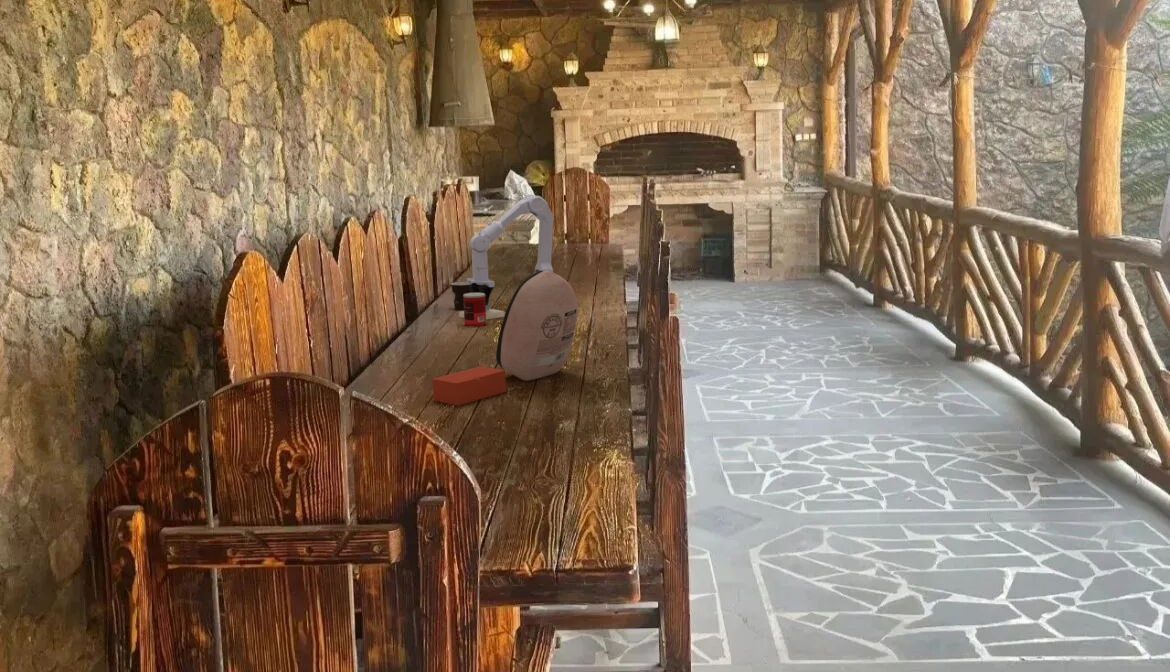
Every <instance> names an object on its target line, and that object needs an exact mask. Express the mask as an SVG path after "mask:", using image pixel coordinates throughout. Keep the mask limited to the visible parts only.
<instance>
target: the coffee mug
mask: <svg viewBox="0 0 1170 672" xmlns="http://www.w3.org/2000/svg"><path fill="white" fill-rule="evenodd" d="M450 285H451V292H452V293H451V294H452V298H453V306H454V310H455V311H464V300H463V296H464V294H467V293H472V292H471V290H470V289H469V286H470V285H472V284H468V283H467V281H459V282H452V283H450Z"/></svg>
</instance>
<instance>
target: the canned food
mask: <svg viewBox="0 0 1170 672" xmlns="http://www.w3.org/2000/svg"><path fill="white" fill-rule="evenodd" d="M463 300H464V310H463V311H464V318H463V320H464V326H466V327H469V326H477V327H482V326H483V325H484V326H485V325H487V324H486V323H487V319H486V302H485V294H484V293H467V294H464V296H463Z"/></svg>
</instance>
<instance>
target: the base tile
mask: <svg viewBox="0 0 1170 672" xmlns="http://www.w3.org/2000/svg"><path fill="white" fill-rule="evenodd" d="M505 313H506V312H505V311H504V310H499V309H493V308H490V310H487V311H486V320H491V319H492V320H493V319H497V318H498V319H499V318H504V316H505ZM458 317H459V318H463V319H464V310H459V311H458Z"/></svg>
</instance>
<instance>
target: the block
mask: <svg viewBox="0 0 1170 672" xmlns="http://www.w3.org/2000/svg"><path fill="white" fill-rule="evenodd" d="M490 309H491V308H490V300H489V301H488V305H486V311H487V310H490Z"/></svg>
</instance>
